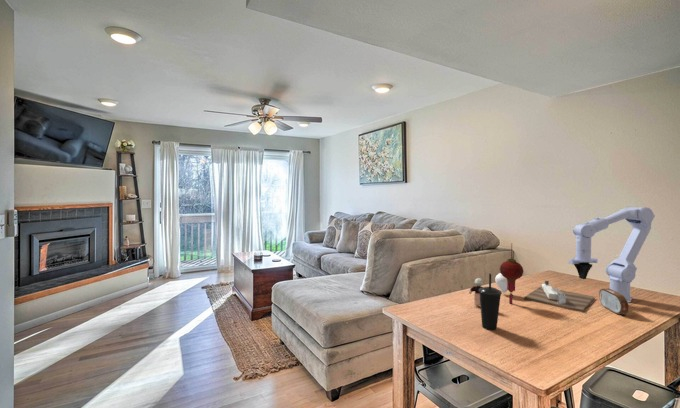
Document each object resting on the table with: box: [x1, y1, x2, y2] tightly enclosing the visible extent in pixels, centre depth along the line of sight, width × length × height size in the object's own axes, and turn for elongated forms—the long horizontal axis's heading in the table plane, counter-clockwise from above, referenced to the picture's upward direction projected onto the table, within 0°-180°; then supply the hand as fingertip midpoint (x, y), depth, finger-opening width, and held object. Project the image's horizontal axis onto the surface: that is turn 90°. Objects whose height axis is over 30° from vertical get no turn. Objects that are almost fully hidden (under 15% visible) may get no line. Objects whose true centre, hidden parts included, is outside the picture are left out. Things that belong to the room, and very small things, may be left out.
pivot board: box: [523, 280, 595, 313], centre depth 146 cm, size 26×22×6 cm
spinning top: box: [494, 272, 508, 295], centre depth 152 cm, size 8×8×12 cm
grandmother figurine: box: [468, 277, 484, 309], centre depth 135 cm, size 8×4×13 cm, turn 71°
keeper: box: [551, 287, 566, 305], centre depth 141 cm, size 10×2×4 cm, turn 162°
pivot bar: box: [541, 283, 557, 300], centre depth 150 cm, size 18×4×2 cm, turn 155°
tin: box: [598, 287, 630, 316], centre depth 132 cm, size 15×3×8 cm, turn 168°
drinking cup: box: [479, 272, 503, 331], centre depth 114 cm, size 8×8×20 cm
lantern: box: [499, 244, 524, 305], centre depth 139 cm, size 10×10×30 cm
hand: (582, 278), depth 147 cm, fingers closed
